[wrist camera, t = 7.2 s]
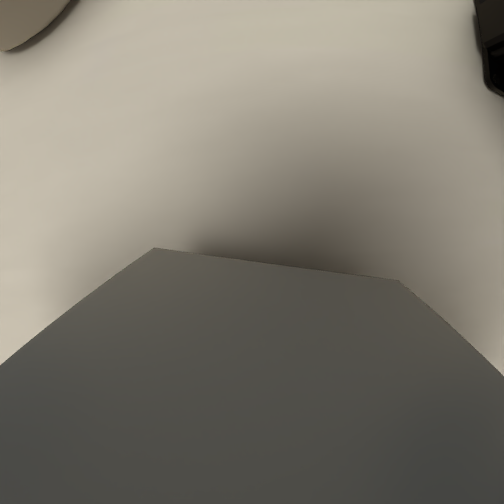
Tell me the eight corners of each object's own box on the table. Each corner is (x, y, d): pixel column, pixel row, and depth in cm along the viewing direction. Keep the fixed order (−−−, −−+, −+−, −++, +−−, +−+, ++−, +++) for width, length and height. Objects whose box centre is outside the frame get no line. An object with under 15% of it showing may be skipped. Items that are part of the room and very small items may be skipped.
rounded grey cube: (398, 280, 9) (604, 494, 1) (338, 447, 11) (374, 633, 2) (154, 247, 9) (-106, 467, 1) (156, 428, 11) (87, 613, 2)
